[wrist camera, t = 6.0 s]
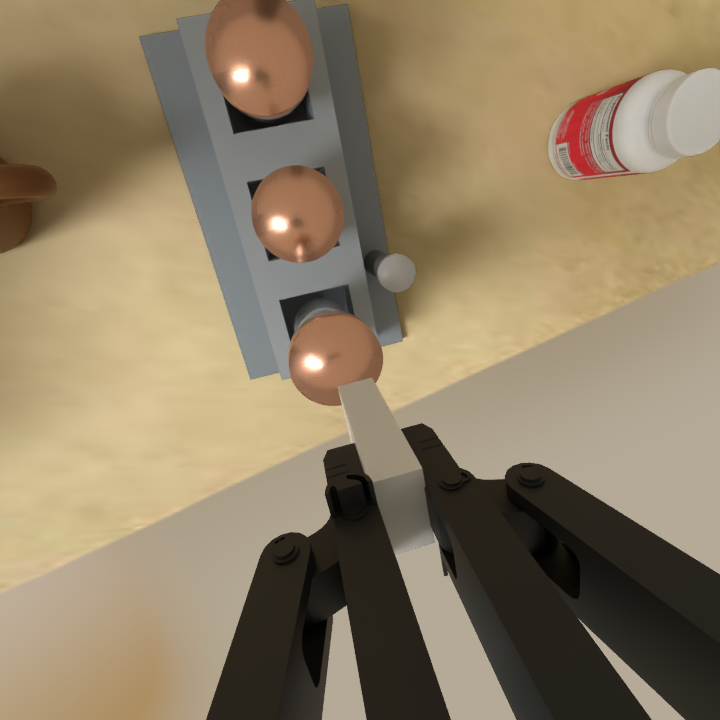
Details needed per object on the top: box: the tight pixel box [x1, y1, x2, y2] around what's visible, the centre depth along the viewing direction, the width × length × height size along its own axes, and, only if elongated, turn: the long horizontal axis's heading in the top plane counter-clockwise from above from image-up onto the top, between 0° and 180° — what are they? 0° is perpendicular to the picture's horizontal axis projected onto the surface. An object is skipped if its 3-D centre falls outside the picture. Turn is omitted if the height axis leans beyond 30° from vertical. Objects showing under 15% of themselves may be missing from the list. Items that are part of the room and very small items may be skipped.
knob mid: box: [251, 165, 344, 263], centre depth 28 cm, size 5×5×8 cm
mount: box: [139, 0, 403, 380], centre depth 30 cm, size 14×25×5 cm, turn 11°
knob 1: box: [205, 0, 313, 129], centre depth 25 cm, size 5×5×8 cm
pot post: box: [364, 250, 416, 293], centre depth 31 cm, size 3×3×7 cm
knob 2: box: [288, 297, 383, 406], centre depth 27 cm, size 5×5×8 cm
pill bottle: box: [548, 68, 720, 180], centre depth 30 cm, size 6×6×11 cm
